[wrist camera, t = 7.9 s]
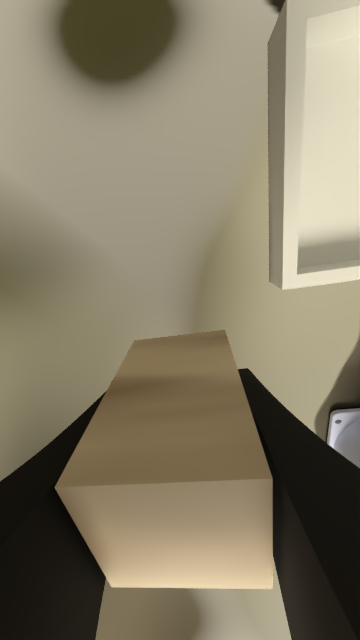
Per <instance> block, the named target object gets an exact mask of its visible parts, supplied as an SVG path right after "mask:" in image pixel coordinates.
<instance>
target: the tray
mask: <svg viewBox="0 0 360 640" xmlns="http://www.w3.org/2000/svg"><path fill="white" fill-rule="evenodd" d="M268 135H269V136H268V139H269V140H268V141H269V142H268V144H269V145H268V146H269V147H268V151H269V281H270V282H271V283H273V284H274V285H276V286H277V287H279V288H280V289H282V290H286V289H293V288H301V287H308V286H316V285H323V284H331V283H338V282H345V281H353V280H360V0H285V2H284V5H283V7H282V10H281V12H280V15H279V17H278V20H277V22H276V25H275V27H274V30H273V32H272V35H271V38H270V40H269V42H268Z"/></svg>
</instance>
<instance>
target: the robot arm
mask: <svg viewBox="0 0 360 640" xmlns="http://www.w3.org/2000/svg"><path fill="white" fill-rule="evenodd" d="M238 372H239V375H240V378H241V382H242V385H243V388H244V391H245V394H246V397H247V400H248V403H249V407H250V410H251V413H252V416H253V419H254V422H255V425H256V428H257V432H258V435H259V438H260V441H261V444H262V447H263V450H264V453H265V457H266V460H267V463H268V466H269V469H270V472H271V475H272V478H273V557H274V561H275V566H276V571H277V575H278V579H279V584H280V589H281V593H282V598H283V602H284V607H285V611H286V616H287V620H288V625H289V630H290V634H291V638H292V640H360V408H355V409H342V410H334V411H332V412H331V415H330V422H329V430H328V438H327V443H326V442H325V441H323V440H322V439H321V438H320V437H318V436H317V435H316V434H315V433H314V432H312V431H311V430H310V429H309V428H308V427H307V426H305V425H304V424H303V423H302V422H301V421H300V420H298V419H297V418H296V417H295V416H294V415H293V414H292V413H291V412H290V411H288V410H287V409H286V408H285V407H284V406H283V405H282V404H281V403H280V402H279V401H278V400H277V399H276V398H275V397H274V396H273V395H272V394H271V393H270V392H269V391H268V390H267V389H266V388H265V387H264V386H263V385H262V383H261V382H260V381H259V380H258V379H257V378H256V377H255V376H254V374H253V373H252V372H251V371H250V370H249V369H247V368H246V369H238ZM106 392H107V391H106ZM106 392H105V393H106ZM105 393H104V394H103V395H102V396H101V397H100V398H99V399H98V400H97V401H96V402H94V403H93V405H91V406H90V407H89V408H88V409H87V410H86V411H85V412H84V413H83V414H82V415H81V416H80V417H79V418H78V419H76V420H75V421H74V422H73V423H72V424H71V425H70V426H69V427H68V428H67V429H65V430H64V431H63V432H62V433H61V434H60V435H58V436H57V437H56V438H55V439H54V440H53V441H52V442H50V443H49V444H48V445H47V446H46V447H44V448H43V449H42V450H41V451H40V452H38V453H37V454H36V455H35V456H33V457H32V458H31V459H30V460H28V461H27V462H26V463H24V464H23V465H22V466H20V467H19V468H18V469H17V470H15V471H14V472H13V473H11V474H10V475H9V476H7V477H6V478H5V479H3V480H2V481H1V482H0V640H95V637H96V631H97V625H98V619H99V613H100V607H101V602H102V596H103V591H104V585H105V580H106V576H105V575H104V573H103V571H102V569H101V568H100V566H99V564H98V562H97V561H96V559H95V557H94V555H93V554H92V552H91V550H90V549H89V547H88V545H87V543H86V542H85V540H84V538H83V536H82V535H81V533H80V531H79V529H78V528H77V526H76V524H75V522H74V521H73V519H72V517H71V515H70V514H69V512H68V510H67V508H66V507H65V505H64V503H63V502H62V500H61V498H60V496H59V495H58V493H57V491H56V489H55V486H56V484H57V482H58V480H59V478H60V476H61V475H62V473H63V471H64V469H65V467H66V465H67V464H68V462H69V460H70V458H71V456H72V454H73V452H74V451H75V449H76V447H77V445H78V443H79V441H80V440H81V438H82V436H83V434H84V432H85V430H86V428H87V427H88V425H89V423H90V421H91V419H92V417H93V416H94V414H95V412H96V410H97V408H98V406H99V404H100V403H101V401H102V399H103V397H104V395H105Z"/></svg>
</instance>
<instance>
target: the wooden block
mask: <svg viewBox="0 0 360 640" xmlns="http://www.w3.org/2000/svg"><path fill="white" fill-rule="evenodd" d="M55 489H56V491H57V493H58V495H59V496H60V498H61V500H62V502H63V503H64V505H65V507H66V508H67V510H68V512H69V514H70V515H71V517H72V519H73V521H74V522H75V524H76V526H77V528H78V529H79V531H80V533H81V535H82V536H83V538H84V540H85V542H86V543H87V545H88V547H89V549H90V550H91V552H92V554H93V555H94V557H95V559H96V561H97V562H98V564H99V566H100V568H101V569H102V571H103V573H104V575H105V576H106V578H107V580H108V582H109V583H110V585H111V587H150V588H154V587H155V588H231V589H233V588H234V589H273V478H272V475H271V472H270V469H269V466H268V463H267V460H266V457H265V453H264V450H263V447H262V444H261V441H260V438H259V435H258V432H257V428H256V425H255V422H254V419H253V416H252V413H251V410H250V407H249V403H248V400H247V397H246V394H245V391H244V388H243V385H242V382H241V378H240V375H239V372H238V369H237V366H236V363H235V360H234V357H233V354H232V351H231V347H230V344H229V341H228V338H227V335H226V332H225V330H220V331H211V332H204V333H194V334H186V335H178V336H169V337H160V338H153V339H143V340H135V341H134V342H133V344H132V346H131V347H130V349H129V351H128V353H127V355H126V356H125V358H124V360H123V362H122V364H121V366H120V367H119V369H118V371H117V373H116V375H115V377H114V379H113V380H112V382H111V384H110V386H109V388H108V390H107V392H106V393H105V395H104V397H103V399H102V401H101V403H100V404H99V406H98V408H97V410H96V412H95V414H94V416H93V417H92V419H91V421H90V423H89V425H88V427H87V428H86V430H85V432H84V434H83V436H82V438H81V440H80V441H79V443H78V445H77V447H76V449H75V451H74V452H73V454H72V456H71V458H70V460H69V462H68V464H67V465H66V467H65V469H64V471H63V473H62V475H61V476H60V478H59V480H58V482H57V484H56V486H55Z"/></svg>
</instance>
